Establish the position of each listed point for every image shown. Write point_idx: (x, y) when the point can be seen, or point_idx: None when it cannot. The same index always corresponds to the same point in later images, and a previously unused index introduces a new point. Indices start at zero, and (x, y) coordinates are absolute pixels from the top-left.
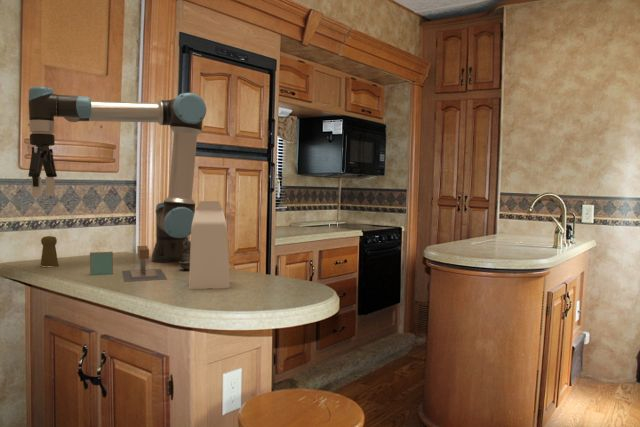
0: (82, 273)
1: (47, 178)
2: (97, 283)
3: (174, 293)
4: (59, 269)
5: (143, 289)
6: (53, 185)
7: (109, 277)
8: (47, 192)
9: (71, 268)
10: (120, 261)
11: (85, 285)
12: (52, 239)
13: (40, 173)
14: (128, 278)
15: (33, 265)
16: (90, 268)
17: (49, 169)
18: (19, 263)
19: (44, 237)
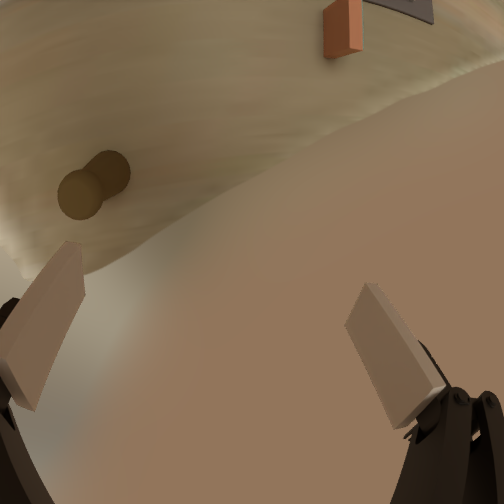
0: (272, 71)
1: (31, 389)
2: (416, 62)
3: (498, 8)
4: (177, 135)
5: (474, 23)
6: (45, 296)
7: None
8: (76, 299)
9: (167, 105)
10: (76, 5)
11: (427, 87)
12: (93, 182)
13: (449, 414)
14: (404, 4)
15: None
16: (343, 55)
17: (24, 474)
18: None
19: (87, 211)
